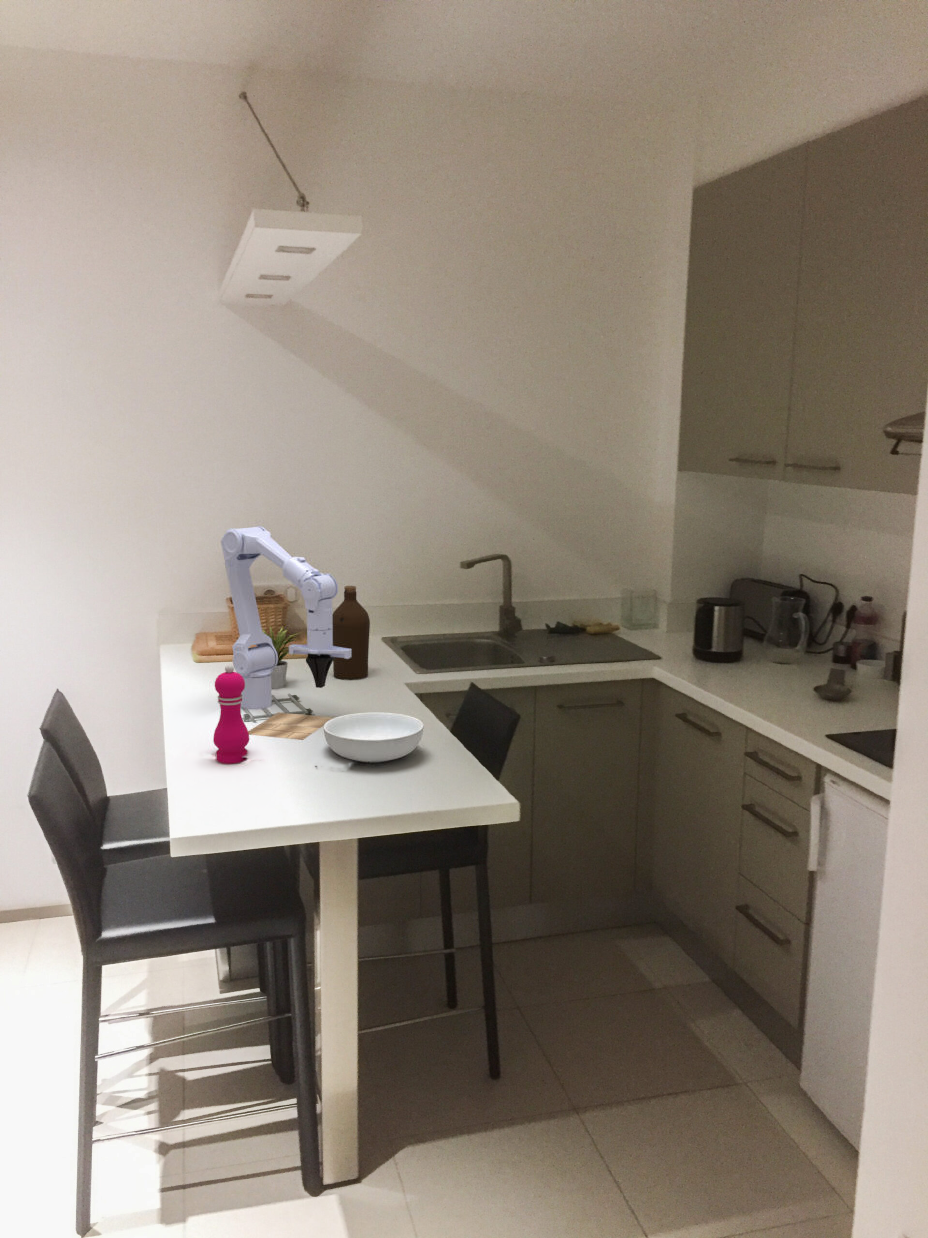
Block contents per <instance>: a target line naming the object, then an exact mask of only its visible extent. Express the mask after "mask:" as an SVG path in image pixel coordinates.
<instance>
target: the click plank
mask: <svg viewBox="0 0 928 1238" xmlns="http://www.w3.org/2000/svg"><path fill="white" fill-rule="evenodd" d="M334 718H335V717H329V716H320V715H310V714H309V715H307V714H300V713H299V714H297V713H288V712H277V713H275V714H274V715H271V717H269V718H267V719H266V720H264V721H263V722H262V723H272V724H282V725H292V726H302V727H312V728H319V729H321V728H322V727H324V724H325V723H326V722H327V721H329V720H331V719H334Z"/></svg>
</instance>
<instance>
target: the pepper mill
mask: <svg viewBox="0 0 928 1238" xmlns="http://www.w3.org/2000/svg"><path fill="white" fill-rule="evenodd" d="M224 670H225V671H224V672H222V673H220V674H219V675H217V676H216V678H215V681H214V690H215V691H216V692H217V693H218V695H217V704H218V705H219V707H220V715H219V719H218V722H217V724H216V727H215V729H214V733H213V739H212V740H213V744H214V746H215V747H216V748H217V750H216V753H215V754H216V755H215V756H216V758H215V759H216V761H217V762H218V763H221V764H224V765H225V764H228V765H229V764H231V765H233V764H239V763H242V762H245V761H247V760H248V757H245V756H247V754H248V749H247V748H246V747H247V746H248V744H249V742H250V735H249V733H248V731H249V730H248V727H247V726H246V724H245V722H244V720H243V717H242V716H243V715H242V713H241V712H242V710H241V709H242V708H241V703H242V702H243V699H242V697H243V695H242V694H241V693H242V691H243V690H244V688H245V681H244V679H243V677H242V676H241V675H240V674H239V673H237V672H236V671H234V670H235V668H234V666H233V664H226V665H225V667H224Z"/></svg>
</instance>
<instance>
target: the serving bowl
mask: <svg viewBox="0 0 928 1238" xmlns="http://www.w3.org/2000/svg"><path fill="white" fill-rule="evenodd" d="M333 718H334V719H331V720H329V721H327V722H326V723H325V724H324V726H323V733H324V738H325V741H326V744H327V745H328V746H329V747H330V749H331V750H332V751H333V752H334V753H335V754H337V755H339V756H341V757H343V758H345V759H348V760H353V761H357V762H362V763H368V762H369V763H368V764H370V763H374V764H375V763H385V762H389V761H392V760H396V759H400V758H402V757H405V756H407V755H408V754H410V753H411V752H413V751H414V750H415V749H416V748H417V746H418V745H419V744H420V742H421V740H422V736H423V733H424V727H425V726H424V723H423V722H422V721H421V720H420V719H418V718H416V717H413V716H410V715H407V714H401V713H394V712H383V711H381V712H376V711H374V712H360V713H359V712H358V713H351V714H344V715H341V716H336V717H333Z"/></svg>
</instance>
